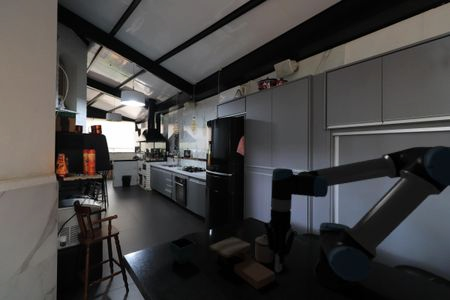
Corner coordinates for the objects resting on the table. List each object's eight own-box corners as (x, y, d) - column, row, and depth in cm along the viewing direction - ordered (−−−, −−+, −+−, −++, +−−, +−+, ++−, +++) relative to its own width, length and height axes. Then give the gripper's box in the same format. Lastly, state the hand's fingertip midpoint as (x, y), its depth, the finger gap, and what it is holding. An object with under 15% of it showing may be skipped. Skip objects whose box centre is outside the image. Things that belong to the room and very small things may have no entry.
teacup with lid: (273, 265, 98) (274, 240, 98) (254, 262, 99) (254, 238, 99) (273, 252, 109) (273, 230, 109) (255, 250, 111) (256, 228, 111)
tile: (274, 281, 86) (274, 273, 86) (257, 290, 80) (257, 281, 80) (250, 265, 97) (251, 258, 97) (234, 272, 91) (234, 264, 91)
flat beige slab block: (250, 261, 100) (251, 244, 100) (227, 275, 89) (227, 255, 89) (232, 252, 109) (232, 236, 109) (208, 263, 98) (209, 245, 97)
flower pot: (195, 261, 99) (195, 242, 99) (179, 268, 93) (180, 248, 93) (184, 254, 105) (184, 236, 105) (168, 261, 99) (169, 242, 99)
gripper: (301, 211, 78) (299, 274, 78) (271, 203, 87) (269, 260, 88) (291, 215, 73) (288, 282, 73) (261, 206, 82) (258, 266, 82)
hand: (278, 270), depth 80 cm, fingers closed
